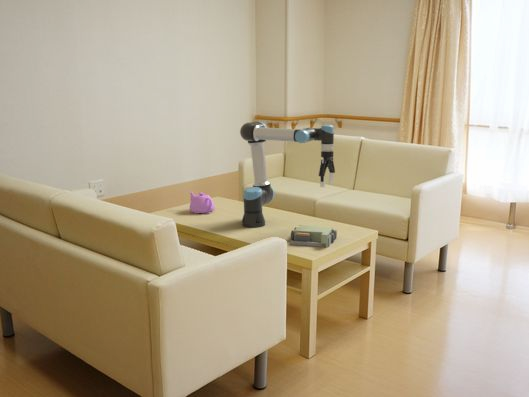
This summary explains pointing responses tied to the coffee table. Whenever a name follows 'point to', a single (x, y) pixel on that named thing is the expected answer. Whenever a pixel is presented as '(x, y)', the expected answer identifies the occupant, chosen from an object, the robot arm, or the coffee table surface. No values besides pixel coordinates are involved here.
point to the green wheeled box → (315, 235)
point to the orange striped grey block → (303, 237)
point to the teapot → (201, 203)
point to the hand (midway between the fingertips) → (326, 185)
